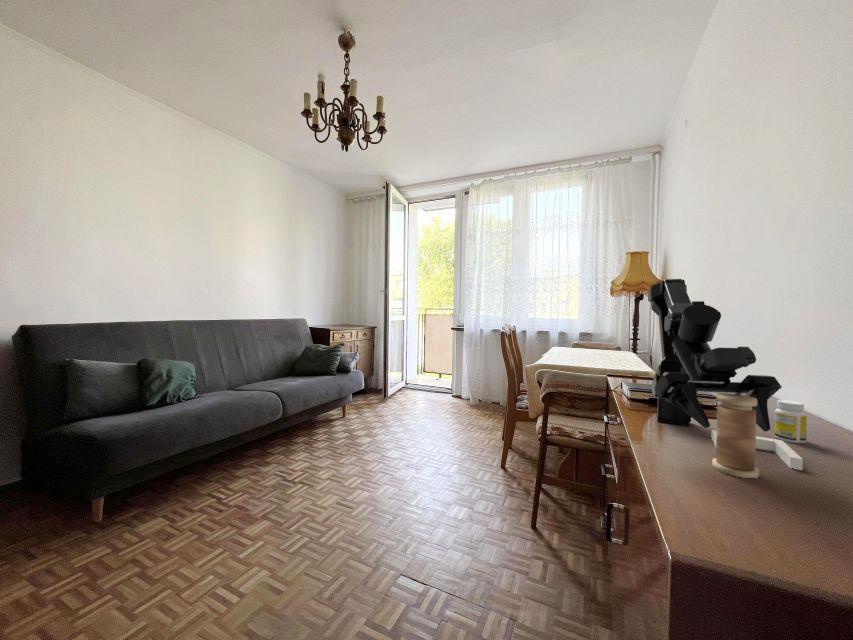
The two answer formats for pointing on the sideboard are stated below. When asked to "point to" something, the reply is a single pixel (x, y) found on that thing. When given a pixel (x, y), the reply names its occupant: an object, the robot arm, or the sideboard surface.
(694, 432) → the sideboard surface
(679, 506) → the sideboard surface
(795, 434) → the supplement bottle
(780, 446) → the white u-shaped piece
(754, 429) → the bobbin
